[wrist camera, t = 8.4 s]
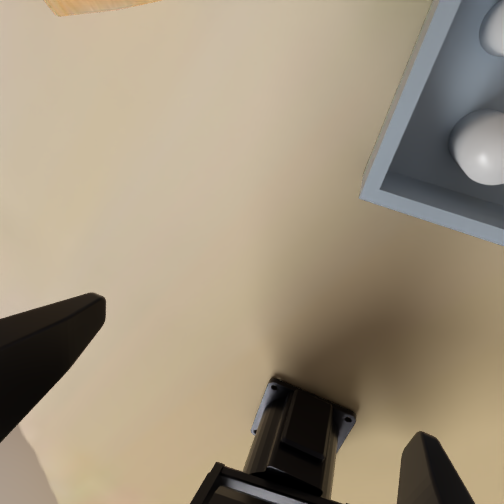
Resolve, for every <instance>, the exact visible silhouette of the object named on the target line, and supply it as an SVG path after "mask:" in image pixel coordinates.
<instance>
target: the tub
mask: <svg viewBox="0 0 504 504" xmlns="http://www.w3.org/2000/svg"><path fill="white" fill-rule="evenodd" d="M359 199H362V200H365V201H368V202H371V203H374V204H377V205H380V206H383V207H386V208H389V209H392V210H395V211H398V212H401V213H404V214H407V215H410V216H413V217H416V218H420V219H423V220H426V221H429V222H432V223H435V224H438V225H441V226H444V227H447V228H450V229H453V230H456V231H459V232H462V233H465V234H468V235H471V236H474V237H477V238H480V239H483V240H486V241H490V242H493V243H496V244H499V245H502V246H504V0H433V1H432V3H431V6H430V8H429V11H428V13H427V16H426V18H425V21H424V23H423V26H422V28H421V31H420V33H419V36H418V38H417V41H416V43H415V46H414V48H413V51H412V53H411V56H410V58H409V61H408V63H407V66H406V68H405V71H404V73H403V76H402V78H401V81H400V83H399V86H398V88H397V91H396V93H395V96H394V98H393V101H392V103H391V106H390V108H389V111H388V113H387V116H386V118H385V121H384V123H383V126H382V128H381V131H380V133H379V136H378V138H377V141H376V143H375V146H374V148H373V151H372V153H371V156H370V158H369V161H368V163H367V166H366V168H365V171H364V173H363V179H362V184H361V189H360V195H359Z"/></svg>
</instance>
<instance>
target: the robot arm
mask: <svg viewBox="0 0 504 504" xmlns="http://www.w3.org/2000/svg"><path fill="white" fill-rule="evenodd" d="M105 318H106V299H105V298H104V297H103V296H101V295H98V294H96V293H87V294H84V295H80V296H77V297H73V298H70V299H67V300H63V301H60V302H56V303H53V304H50V305H46V306H43V307H39V308H36V309H32V310H29V311H26V312H22V313H19V314H15V315H12V316H9V317H5V318H2V319H0V443H1V442H2V441H3V439H4V438H5V437H6V436H7V435H8V434H9V433H10V432H11V431H12V430H13V429H14V428H15V427H16V425H18V423H19V422H20V421H21V420H22V419H23V418H24V417H25V416H26V415H27V414H28V413H29V412H30V411H31V410H32V409H33V407H34V406H35V405H36V404H37V403H38V402H39V401H40V400H41V399H42V398H43V397H44V396H45V395H46V394H47V393H48V391H49V390H50V389H51V388H52V387H53V386H54V385H55V384H56V383H57V382H58V381H59V380H60V379H61V378H62V377H63V375H64V374H65V373H66V372H67V371H68V370H69V369H70V368H71V366H72V365H73V364H74V363H75V361H76V360H77V359H78V357H79V356H80V355H81V354H82V352H83V351H84V350H85V348H86V347H87V346H88V344H89V343H90V342H91V340H92V339H93V338H94V337H95V335H96V334H97V333H98V331H99V330H100V329H101V327H102V326H103V324H104V322H105ZM274 385H275V386H274ZM348 417H349V418H348ZM355 422H356V414H355V413H354V412H353V411H351V410H348V409H346V408H344V407H341V406H339V405H337V404H334V403H332V402H330V401H327V400H325V399H323V398H320V397H318V396H316V395H313V394H311V393H309V392H306V391H304V390H302V389H299V388H297V387H295V386H292V385H290V384H288V383H285V382H283V381H281V380H278V379H275V378H273V379H270V381H269V383H268V386H267V388H266V391H265V393H264V396H263V399H262V401H261V404H260V407H259V409H258V412H257V415H256V417H255V420H254V423H253V425H252V428H251V433H252V434H253V435H255V437H254V440H253V443H252V446H251V449H250V452H249V455H248V457H247V460H246V463H245V466H244V469H243V472H242V471H239V470H236V469H233V468H229V467H226V466H225V464H222V463H219V462H216V463H215V465H214V467H213V468H212V470H211V472H210V473H208V474H207V476H206V478H205V479H204V481H203V483H202V484H201V486H200V488H199V490H198V491H197V493H196V495H195V496H194V498H193V500H192V501H191V503H190V504H342V503H339V502H336V501H333V500H331V492H332V484H333V476H334V468H335V459H336V453H337V452H338V450H339V449H340V447H341V445H342V444H343V442H344V440H345V439H346V437H347V436H348V434H349V432H350V431H351V429H352V427H353V426H354V424H355ZM346 504H348V503H346ZM397 504H475V502H474V501H473V499H472V497H471V496H470V494H469V492H468V490H467V489H466V487H465V485H464V483H463V482H462V480H461V478H460V477H459V475H458V473H457V471H456V470H455V468H454V466H453V465H452V463H451V461H450V459H449V458H448V456H447V454H446V452H445V451H444V449H443V447H442V446H441V444H440V442H439V441H438V439H437V438H436V437H434V436H432V435H429V434H427V433H425V432H422V431H419V432H417V433H416V434H415V436H414V437H413V438H412V439H411V441H410V442H409V443H408V445H407V446H406V447H405V449H404V451H403V453H402V458H401V468H400V478H399V488H398V498H397Z"/></svg>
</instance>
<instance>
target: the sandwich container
mask: <svg viewBox="0 0 504 504" xmlns="http://www.w3.org/2000/svg"><path fill="white" fill-rule="evenodd" d="M44 1H45V3H46V4H47V5H48V6H49V8H50V9H51V10H52V11H53V13H54V14H55V15H56V16H69V15H78V14H87V13H96V12H105V11H114V10H120V9H125V8H129V7H134V6H138V5H143V4H148V3H152V2H157V1H161V0H44Z"/></svg>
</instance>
